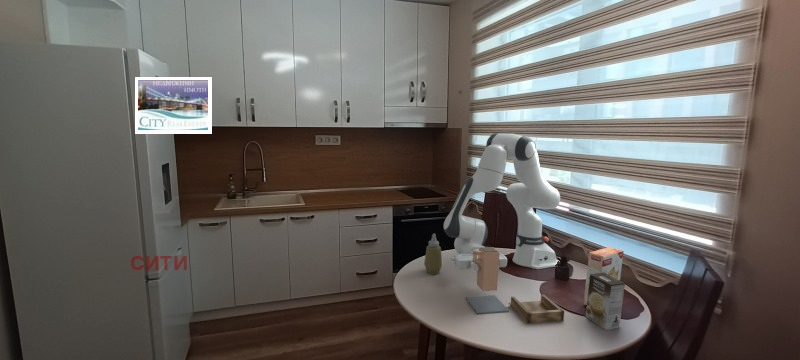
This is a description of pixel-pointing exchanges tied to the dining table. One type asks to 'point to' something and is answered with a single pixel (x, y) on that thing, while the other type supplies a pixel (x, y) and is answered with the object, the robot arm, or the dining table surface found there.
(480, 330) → the dining table surface
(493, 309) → the coaster
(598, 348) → the dining table surface
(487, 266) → the jug
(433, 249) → the squeeze bottle
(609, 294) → the coffee box
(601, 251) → the cracker box
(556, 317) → the tray
